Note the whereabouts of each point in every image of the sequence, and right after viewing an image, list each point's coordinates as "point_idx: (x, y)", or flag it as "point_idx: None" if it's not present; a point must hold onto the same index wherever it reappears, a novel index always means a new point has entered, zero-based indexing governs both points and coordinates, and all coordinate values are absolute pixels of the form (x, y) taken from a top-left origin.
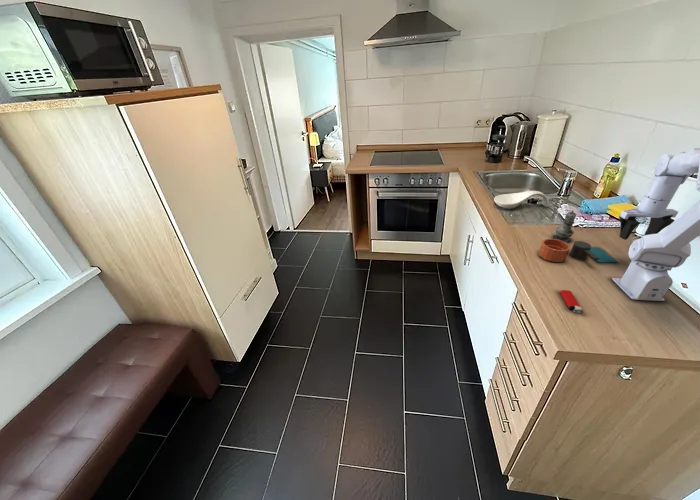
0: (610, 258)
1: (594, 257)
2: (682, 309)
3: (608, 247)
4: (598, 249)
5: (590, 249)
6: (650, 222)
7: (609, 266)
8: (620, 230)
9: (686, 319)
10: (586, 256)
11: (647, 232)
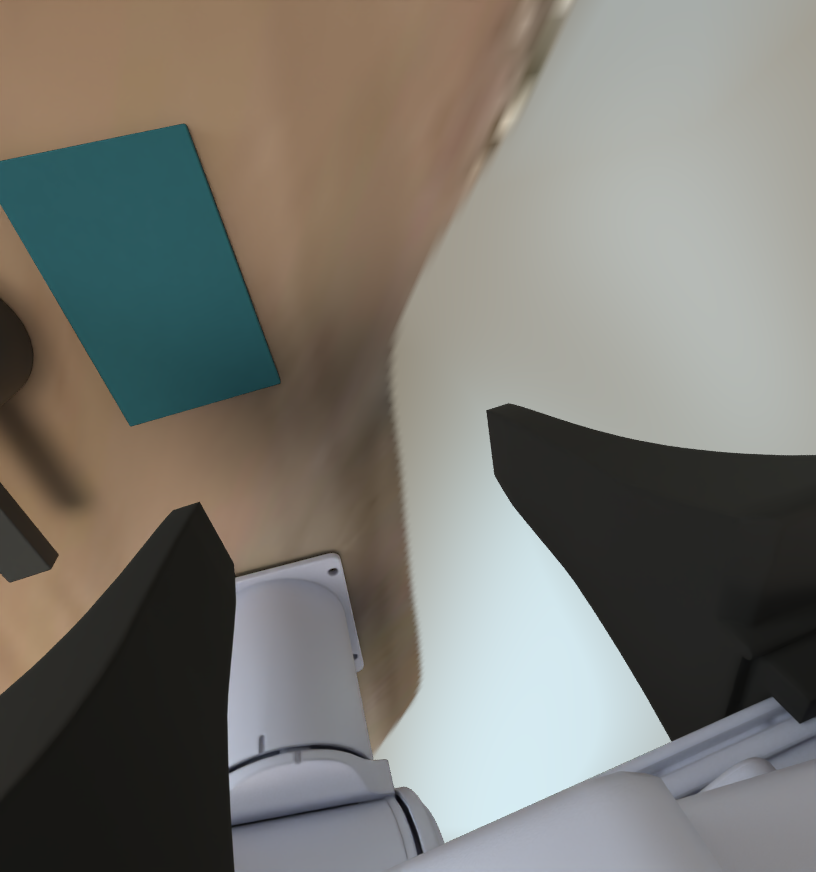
0: (239, 345)
1: (6, 575)
2: (403, 676)
3: (300, 79)
4: (171, 176)
5: (82, 193)
6: (609, 484)
7: (207, 447)
8: (126, 571)
9: (383, 718)
10: (10, 395)
11: (513, 447)
